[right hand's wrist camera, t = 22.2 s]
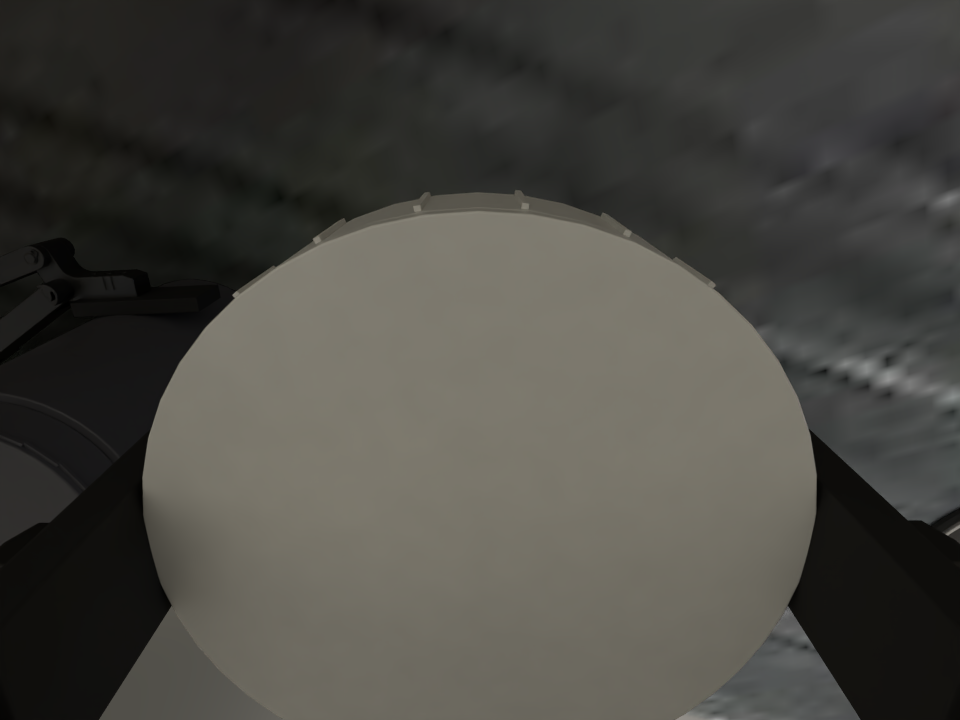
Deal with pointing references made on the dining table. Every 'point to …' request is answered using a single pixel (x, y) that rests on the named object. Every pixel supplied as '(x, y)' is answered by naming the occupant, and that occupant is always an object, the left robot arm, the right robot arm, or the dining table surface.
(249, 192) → the dining table surface
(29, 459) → the jar
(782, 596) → the lid
